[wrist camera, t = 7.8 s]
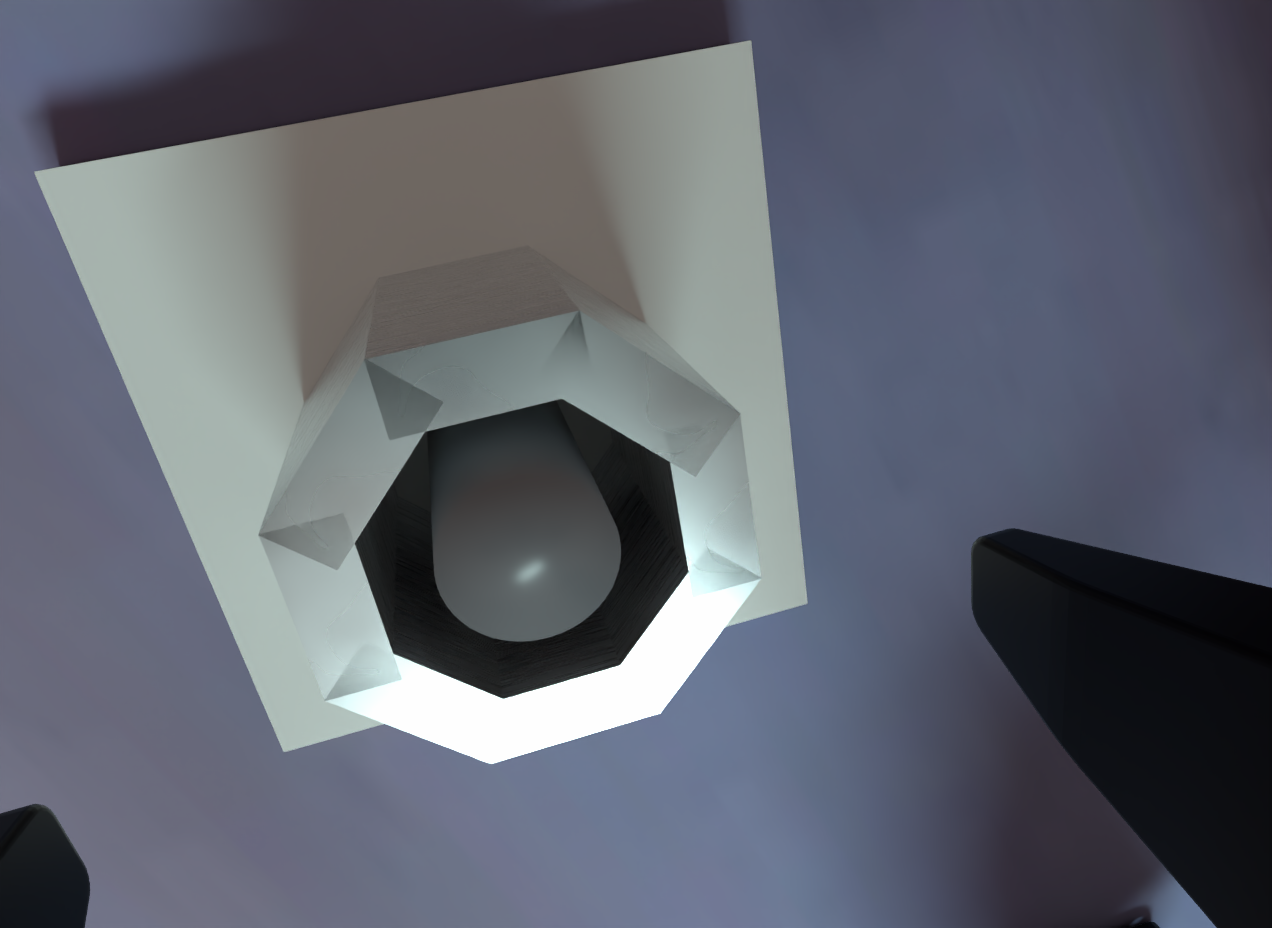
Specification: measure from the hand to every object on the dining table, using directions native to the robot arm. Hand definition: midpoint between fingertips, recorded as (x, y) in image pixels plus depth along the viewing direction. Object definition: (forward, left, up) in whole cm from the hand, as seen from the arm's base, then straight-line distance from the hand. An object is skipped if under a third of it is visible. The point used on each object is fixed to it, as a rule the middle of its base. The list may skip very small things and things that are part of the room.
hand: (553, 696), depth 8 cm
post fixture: (0, 0, -9) cm, 9 cm away
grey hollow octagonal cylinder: (0, 0, -8) cm, 8 cm away
